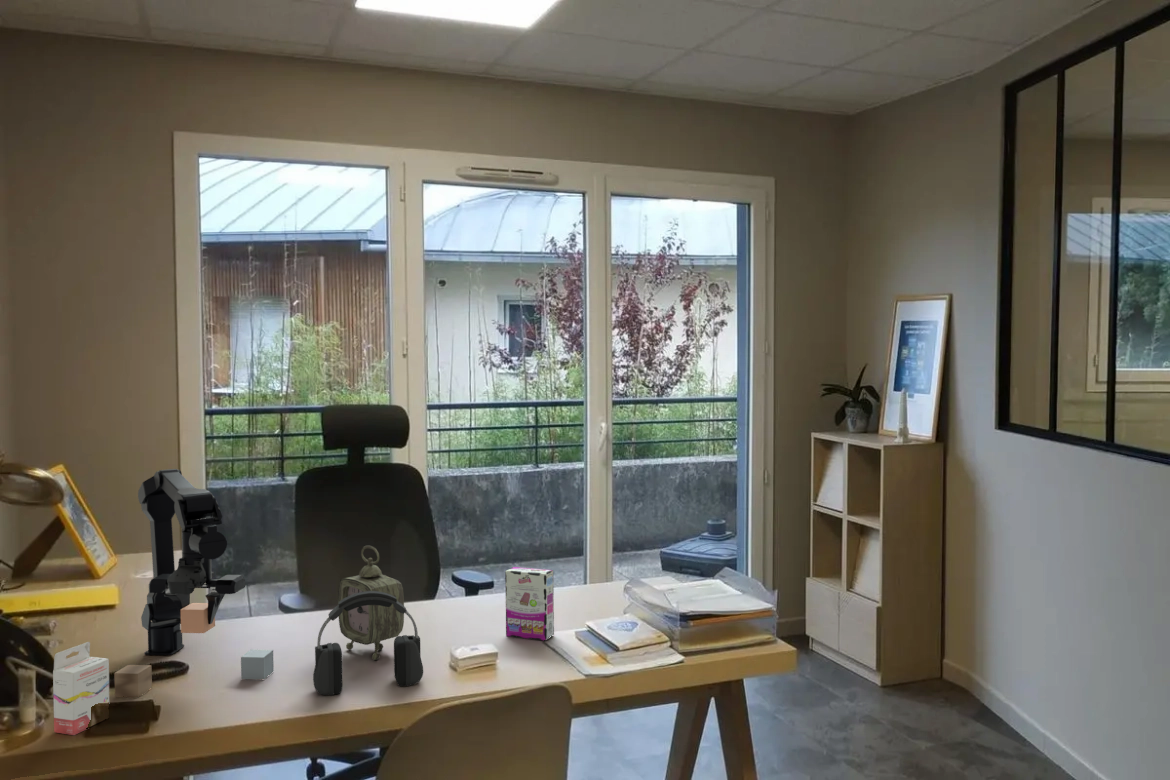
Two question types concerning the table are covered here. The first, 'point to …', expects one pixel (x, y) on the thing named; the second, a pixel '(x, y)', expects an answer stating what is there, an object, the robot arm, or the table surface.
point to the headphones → (330, 654)
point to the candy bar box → (529, 603)
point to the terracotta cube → (195, 618)
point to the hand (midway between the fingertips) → (198, 623)
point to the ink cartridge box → (78, 688)
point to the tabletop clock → (370, 607)
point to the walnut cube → (133, 680)
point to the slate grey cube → (257, 664)
